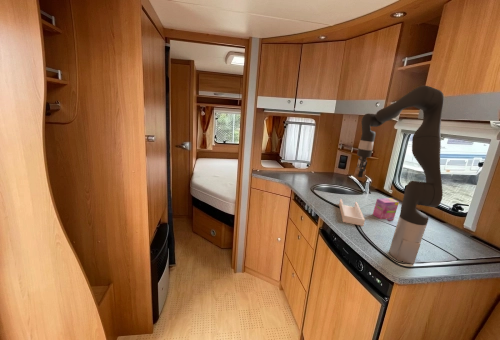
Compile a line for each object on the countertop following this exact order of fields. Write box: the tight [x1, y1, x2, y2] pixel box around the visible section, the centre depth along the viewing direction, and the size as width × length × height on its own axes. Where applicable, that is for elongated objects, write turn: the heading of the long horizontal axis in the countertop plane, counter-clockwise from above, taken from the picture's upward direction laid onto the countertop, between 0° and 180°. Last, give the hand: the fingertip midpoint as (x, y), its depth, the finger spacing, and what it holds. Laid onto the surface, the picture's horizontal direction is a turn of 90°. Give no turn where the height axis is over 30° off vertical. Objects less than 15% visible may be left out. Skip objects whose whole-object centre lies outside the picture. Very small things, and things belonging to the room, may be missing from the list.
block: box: [353, 166, 367, 179], centre depth 134 cm, size 5×5×5 cm
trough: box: [338, 198, 366, 227], centre depth 127 cm, size 25×10×5 cm, turn 163°
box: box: [372, 197, 400, 221], centre depth 127 cm, size 10×6×12 cm, turn 105°
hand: (359, 175), depth 135 cm, fingers closed on block, 5 cm apart
